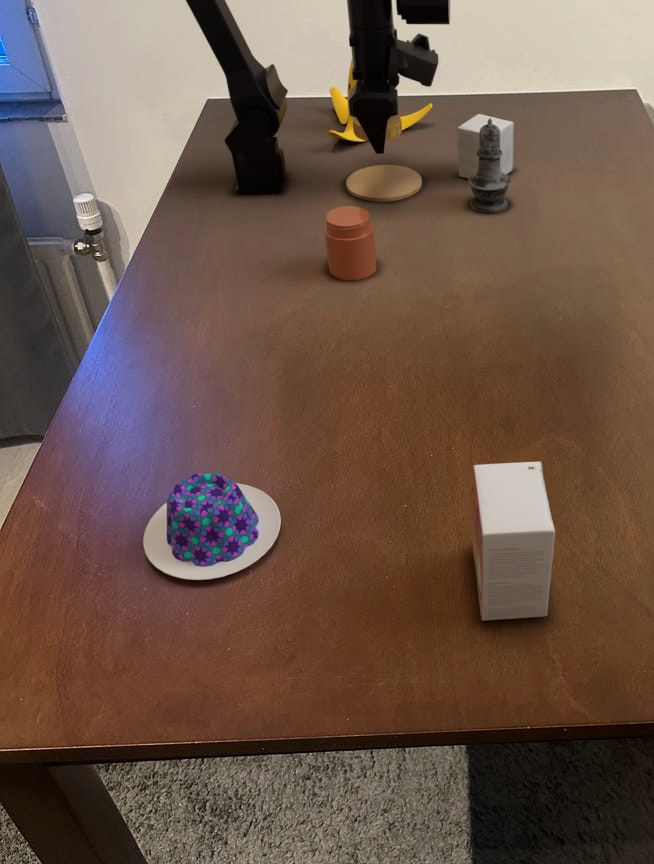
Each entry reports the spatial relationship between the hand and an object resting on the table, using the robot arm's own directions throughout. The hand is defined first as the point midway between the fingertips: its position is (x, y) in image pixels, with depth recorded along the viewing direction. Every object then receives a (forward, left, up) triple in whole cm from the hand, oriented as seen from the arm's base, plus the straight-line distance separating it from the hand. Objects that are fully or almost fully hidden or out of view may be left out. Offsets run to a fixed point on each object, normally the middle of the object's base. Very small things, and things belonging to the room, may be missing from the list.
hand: (380, 143), depth 126 cm
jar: (-3, -24, -6) cm, 25 cm away
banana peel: (-1, +21, -6) cm, 22 cm away
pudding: (-13, -70, -6) cm, 71 cm away
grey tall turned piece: (+15, -7, -6) cm, 18 cm away
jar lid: (0, 0, +3) cm, 3 cm away
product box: (+15, +3, -6) cm, 17 cm away
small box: (+13, -77, -6) cm, 78 cm away
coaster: (0, 0, -6) cm, 6 cm away
